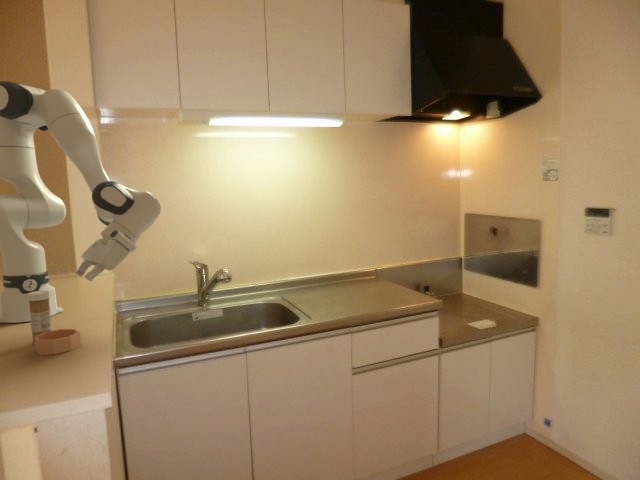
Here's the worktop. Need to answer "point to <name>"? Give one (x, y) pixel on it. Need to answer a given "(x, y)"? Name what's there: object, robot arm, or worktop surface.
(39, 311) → the sprinkles bottle
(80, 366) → the worktop surface
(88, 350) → the worktop surface
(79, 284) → the worktop surface
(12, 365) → the worktop surface
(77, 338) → the bowl
